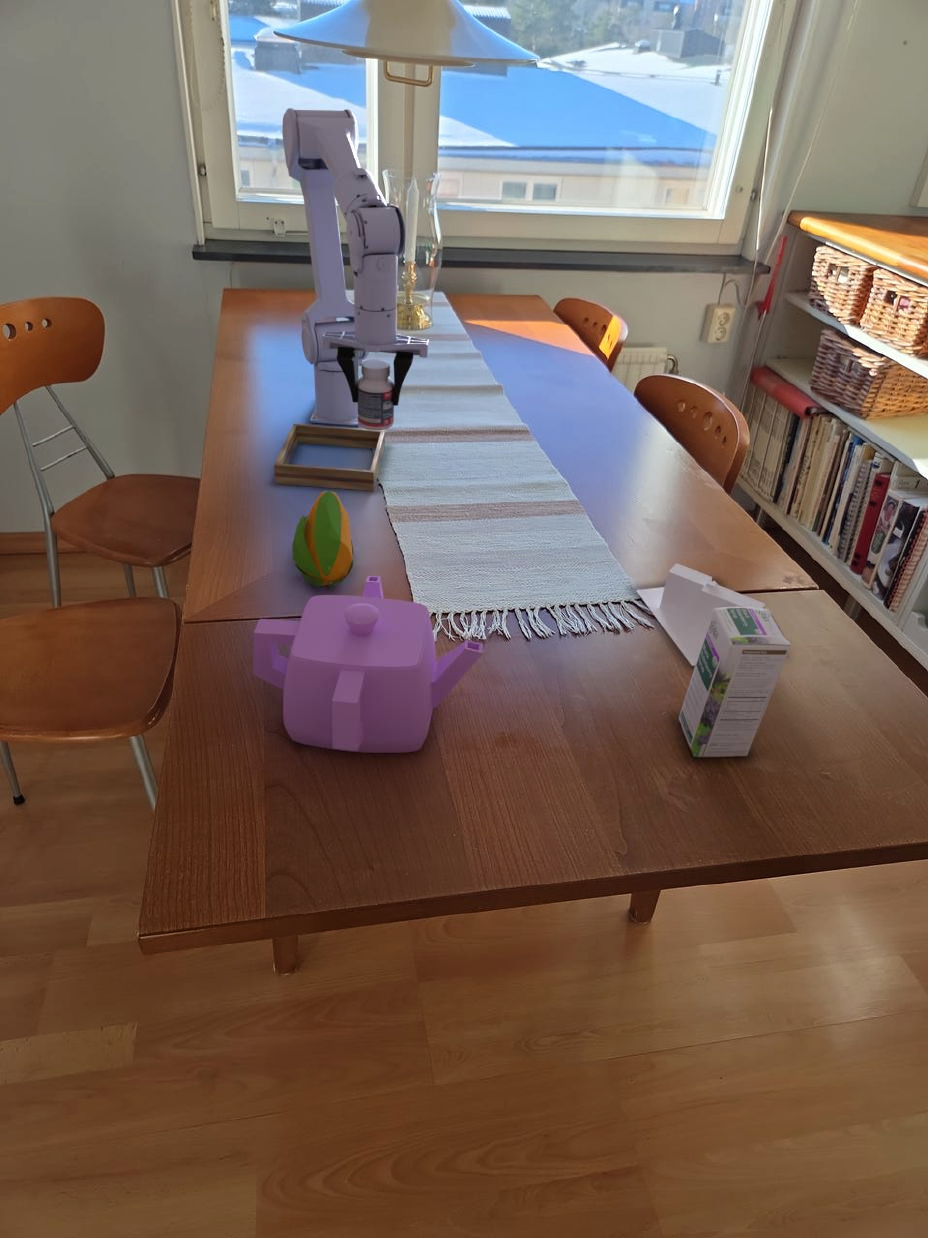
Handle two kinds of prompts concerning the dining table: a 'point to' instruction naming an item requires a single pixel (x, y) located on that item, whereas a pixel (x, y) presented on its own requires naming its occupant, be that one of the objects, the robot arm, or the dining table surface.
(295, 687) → the teakettle
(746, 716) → the syrup box
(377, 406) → the pill bottle
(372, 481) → the picture frame
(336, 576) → the corn
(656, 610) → the napkin holder
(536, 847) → the dining table surface
